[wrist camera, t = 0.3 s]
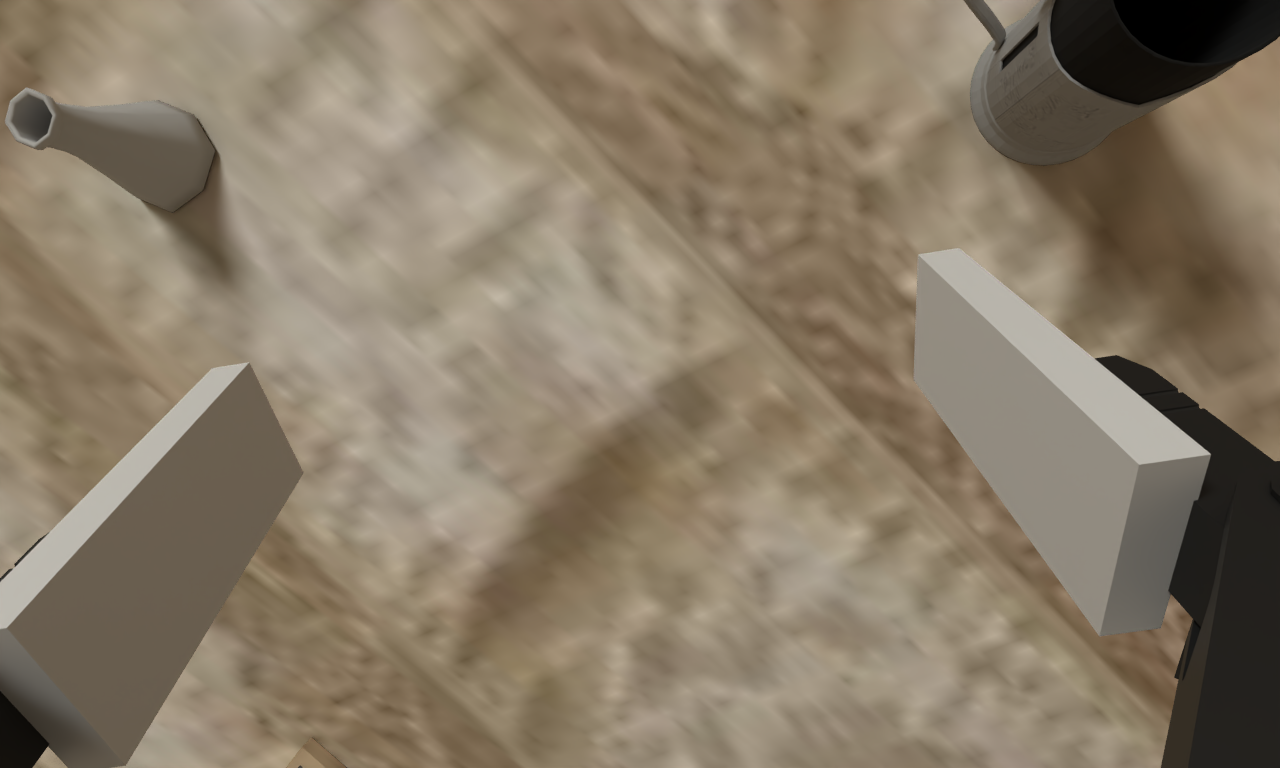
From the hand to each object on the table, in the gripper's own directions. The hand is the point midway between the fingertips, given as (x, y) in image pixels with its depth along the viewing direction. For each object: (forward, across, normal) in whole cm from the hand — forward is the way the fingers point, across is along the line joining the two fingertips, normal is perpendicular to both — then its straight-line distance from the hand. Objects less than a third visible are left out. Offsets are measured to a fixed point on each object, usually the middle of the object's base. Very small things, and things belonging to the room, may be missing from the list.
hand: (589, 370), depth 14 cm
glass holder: (+33, -24, +2) cm, 41 cm away
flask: (+40, +31, 0) cm, 51 cm away
